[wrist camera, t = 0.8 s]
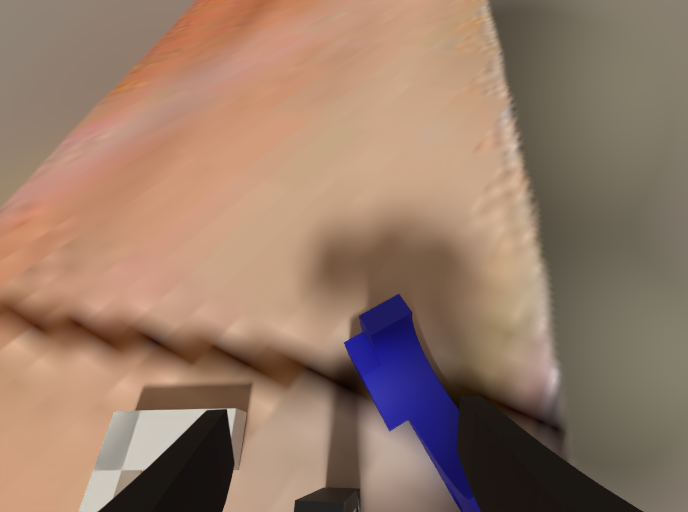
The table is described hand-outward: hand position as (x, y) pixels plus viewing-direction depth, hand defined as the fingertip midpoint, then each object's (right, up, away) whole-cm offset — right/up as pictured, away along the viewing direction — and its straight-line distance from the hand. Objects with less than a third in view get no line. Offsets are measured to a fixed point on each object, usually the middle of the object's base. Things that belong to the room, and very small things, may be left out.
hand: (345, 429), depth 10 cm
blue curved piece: (+5, -6, +13) cm, 15 cm away
